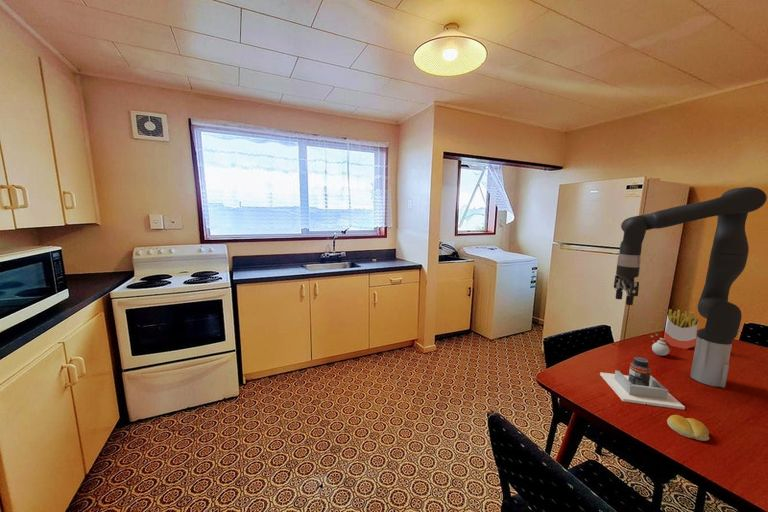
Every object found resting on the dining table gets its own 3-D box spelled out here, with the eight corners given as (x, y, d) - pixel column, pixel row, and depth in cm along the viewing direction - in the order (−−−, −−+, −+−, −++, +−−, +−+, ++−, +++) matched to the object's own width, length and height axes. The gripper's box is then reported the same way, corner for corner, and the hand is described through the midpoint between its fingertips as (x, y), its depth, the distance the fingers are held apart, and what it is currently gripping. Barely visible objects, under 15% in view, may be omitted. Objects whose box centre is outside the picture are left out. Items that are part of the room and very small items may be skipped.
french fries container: (694, 351, 143) (700, 315, 141) (663, 344, 151) (668, 310, 148) (693, 347, 147) (699, 312, 144) (663, 341, 154) (668, 308, 151)
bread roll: (663, 418, 97) (665, 407, 96) (702, 428, 92) (704, 417, 92) (671, 434, 90) (672, 422, 90) (713, 446, 85) (715, 433, 85)
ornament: (667, 359, 135) (670, 338, 134) (646, 353, 141) (648, 333, 139) (669, 355, 139) (672, 335, 138) (648, 349, 145) (651, 330, 143)
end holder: (599, 374, 122) (601, 364, 122) (651, 380, 118) (653, 370, 117) (622, 401, 105) (624, 389, 105) (684, 409, 101) (686, 397, 100)
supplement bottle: (643, 384, 114) (647, 357, 112) (651, 393, 108) (656, 364, 106) (624, 381, 116) (628, 354, 114) (631, 390, 110) (635, 361, 108)
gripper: (649, 268, 118) (643, 307, 120) (629, 262, 131) (625, 297, 134) (627, 267, 119) (622, 306, 122) (609, 261, 133) (605, 296, 136)
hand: (623, 301), depth 128 cm, fingers open, 8 cm apart
